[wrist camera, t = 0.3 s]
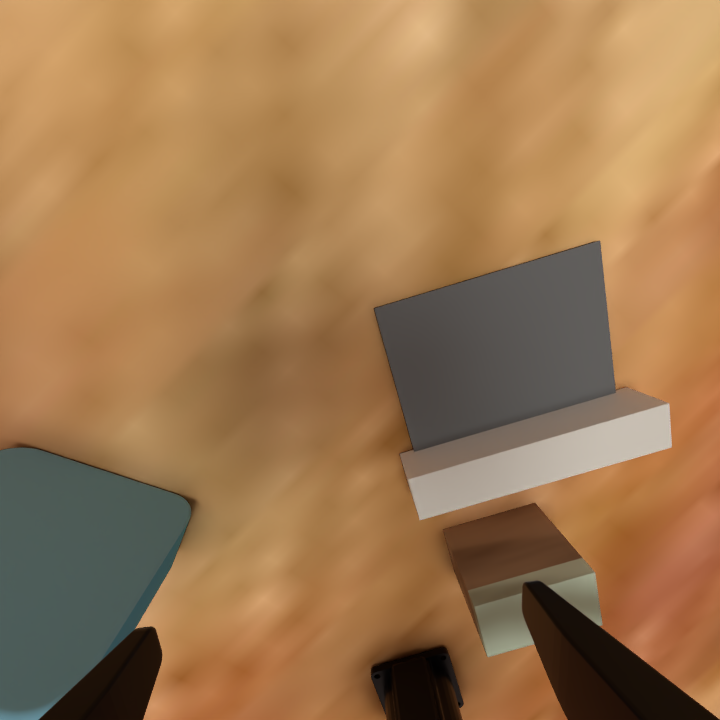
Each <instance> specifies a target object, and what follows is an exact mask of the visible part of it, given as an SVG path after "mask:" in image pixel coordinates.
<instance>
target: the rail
mask: <svg viewBox="0 0 720 720" xmlns="http://www.w3.org/2000/svg"><path fill="white" fill-rule="evenodd" d="M671 447H672V442H671V426H670V409H669V403H667V402H664V401H662V400H659V399H657V398H654V397H651V396H649V395H646V394H643V393H641V392H638V391H636V390H633V389H630V388H628V387H625V388H622V389H619V390H616V393H614V394H610V395H607V396H603V397H600V398H596V399H593V400H590V401H586V402H583V403H579V404H576V405H573V406H569V407H566V408H562V409H559V410H556V411H552V412H549V413H545V414H542V415H539V416H535V417H532V418H528V419H525V420H521V421H518V422H515V423H511V424H508V425H504V426H501V427H498V428H494V429H491V430H487V431H484V432H481V433H477V434H474V435H470V436H467V437H464V438H460V439H457V440H453V441H450V442H447V443H443V444H440V445H436V446H433V447H429V448H426V449H423V450H419V451H416V452H414V450H411V451H407V452H404V453H401V454H400V457H401V461H402V464H403V467H404V471H405V474H406V478H407V481H408V484H409V488H410V491H411V494H412V497H413V500H414V503H415V506H416V510H417V513H418V516H419V519H420V520H423V519H426V518H430V517H433V516H437V515H440V514H444V513H447V512H451V511H454V510H457V509H461V508H464V507H468V506H471V505H475V504H478V503H482V502H485V501H488V500H492V499H495V498H499V497H502V496H506V495H509V494H513V493H516V492H519V491H523V490H526V489H530V488H533V487H537V486H540V485H544V484H547V483H551V482H554V481H557V480H561V479H564V478H568V477H571V476H575V475H578V474H582V473H585V472H588V471H592V470H595V469H599V468H602V467H606V466H609V465H613V464H616V463H619V462H623V461H626V460H630V459H633V458H637V457H640V456H644V455H647V454H651V453H654V452H657V451H661V450H664V449H668V448H671Z"/></svg>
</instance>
